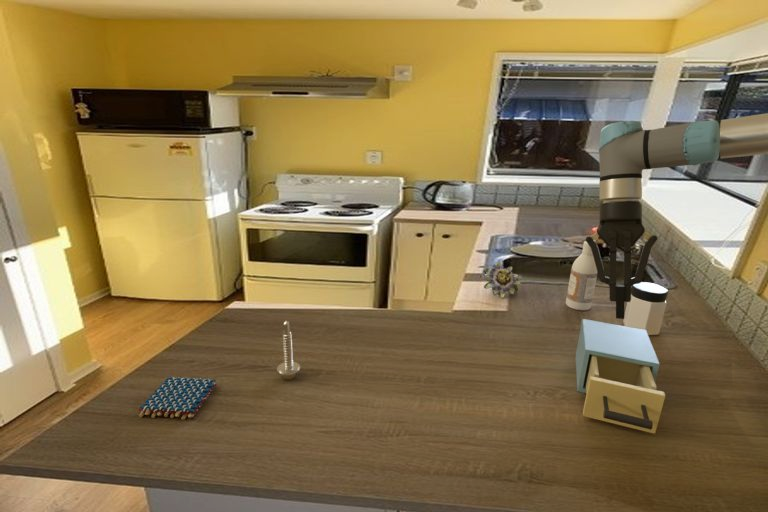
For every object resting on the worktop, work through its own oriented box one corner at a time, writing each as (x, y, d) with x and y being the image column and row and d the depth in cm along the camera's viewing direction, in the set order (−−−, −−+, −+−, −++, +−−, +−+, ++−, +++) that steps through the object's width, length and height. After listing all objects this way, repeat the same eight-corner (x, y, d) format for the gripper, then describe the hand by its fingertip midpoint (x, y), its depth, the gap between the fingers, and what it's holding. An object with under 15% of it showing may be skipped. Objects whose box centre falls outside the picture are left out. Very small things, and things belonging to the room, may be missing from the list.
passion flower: (499, 313, 134) (485, 288, 127) (485, 293, 143) (471, 270, 137) (530, 294, 133) (518, 268, 126) (513, 276, 142) (501, 251, 136)
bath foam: (561, 301, 130) (572, 238, 124) (583, 301, 131) (595, 239, 124) (571, 311, 124) (583, 245, 118) (595, 311, 124) (607, 246, 118)
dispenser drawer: (661, 456, 69) (673, 416, 67) (584, 436, 73) (592, 397, 71) (642, 390, 86) (651, 356, 84) (580, 376, 90) (586, 344, 88)
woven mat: (167, 383, 86) (166, 374, 85) (218, 386, 86) (217, 377, 85) (136, 417, 76) (134, 408, 76) (194, 421, 76) (192, 411, 75)
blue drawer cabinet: (648, 407, 83) (659, 364, 79) (577, 391, 87) (585, 349, 84) (636, 368, 96) (646, 329, 93) (575, 356, 100) (582, 318, 97)
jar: (643, 320, 119) (653, 281, 115) (666, 334, 111) (677, 292, 108) (615, 322, 118) (623, 282, 114) (636, 336, 110) (646, 294, 106)
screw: (296, 367, 93) (304, 379, 89) (274, 374, 90) (281, 386, 86) (293, 313, 88) (302, 323, 85) (270, 318, 86) (278, 328, 82)
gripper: (657, 200, 86) (656, 316, 87) (585, 204, 92) (586, 312, 93) (660, 198, 79) (659, 323, 80) (583, 202, 86) (583, 318, 87)
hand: (620, 317), depth 87 cm, fingers closed
